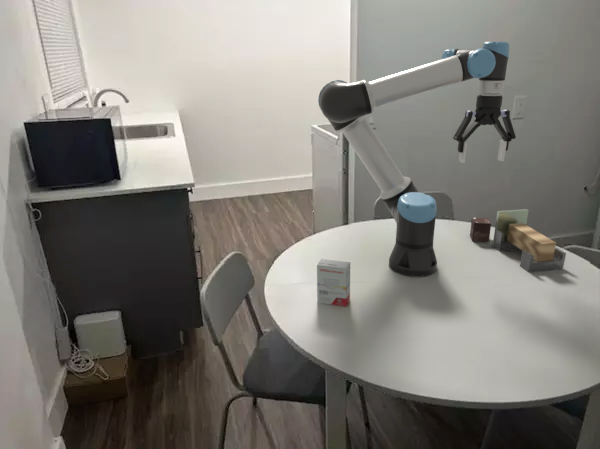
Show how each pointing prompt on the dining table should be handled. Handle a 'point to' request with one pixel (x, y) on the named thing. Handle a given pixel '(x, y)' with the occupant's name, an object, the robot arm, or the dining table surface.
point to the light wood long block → (531, 241)
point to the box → (480, 229)
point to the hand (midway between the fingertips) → (481, 161)
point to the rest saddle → (534, 265)
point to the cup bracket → (507, 228)
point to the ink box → (333, 282)
